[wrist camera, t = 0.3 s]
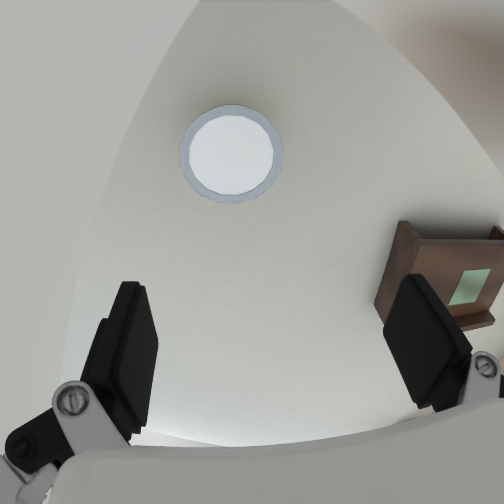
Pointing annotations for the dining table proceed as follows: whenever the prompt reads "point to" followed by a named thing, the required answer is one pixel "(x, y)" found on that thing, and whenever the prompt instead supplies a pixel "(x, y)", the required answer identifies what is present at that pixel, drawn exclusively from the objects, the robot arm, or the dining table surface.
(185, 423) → the dining table surface
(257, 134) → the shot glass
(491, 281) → the shelf
